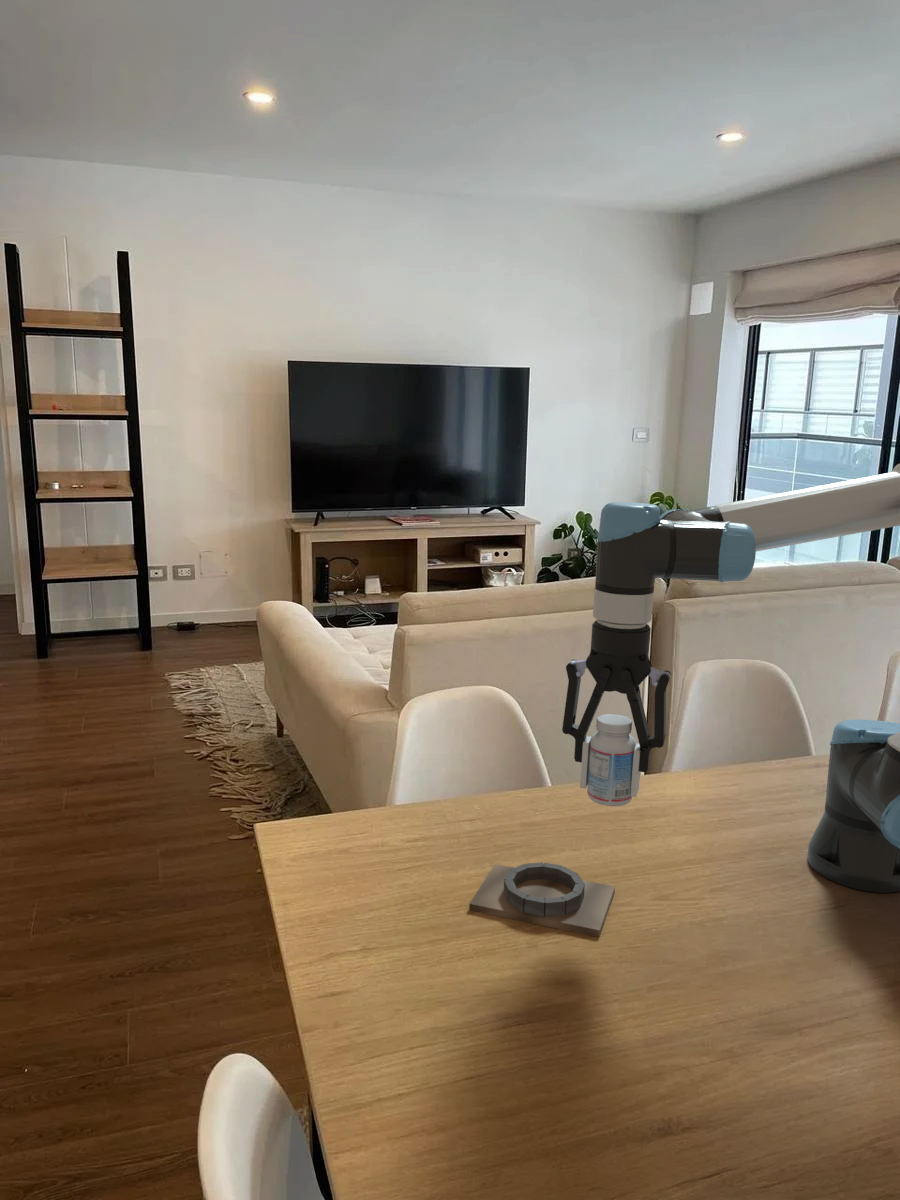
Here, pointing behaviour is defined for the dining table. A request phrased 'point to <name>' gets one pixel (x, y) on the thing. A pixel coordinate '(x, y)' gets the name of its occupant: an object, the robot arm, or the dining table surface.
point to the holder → (544, 897)
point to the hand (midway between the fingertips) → (609, 788)
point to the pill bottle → (611, 761)
